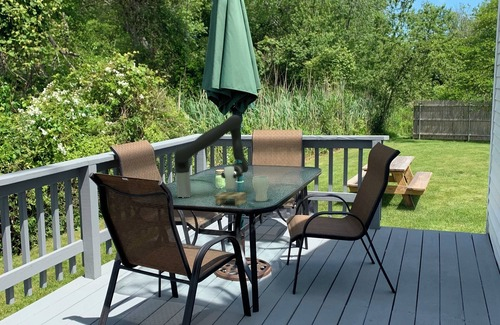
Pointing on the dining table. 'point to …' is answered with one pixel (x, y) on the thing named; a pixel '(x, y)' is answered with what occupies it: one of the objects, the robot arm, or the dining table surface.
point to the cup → (261, 187)
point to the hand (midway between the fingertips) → (228, 176)
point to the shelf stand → (231, 197)
